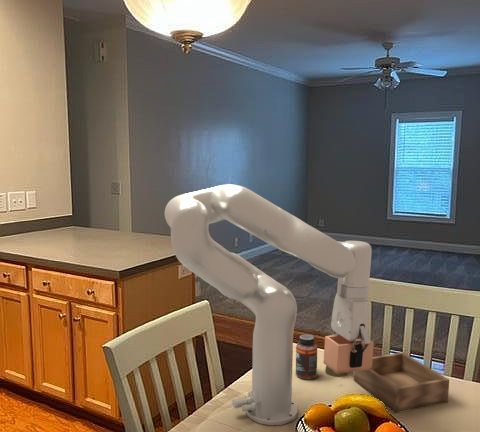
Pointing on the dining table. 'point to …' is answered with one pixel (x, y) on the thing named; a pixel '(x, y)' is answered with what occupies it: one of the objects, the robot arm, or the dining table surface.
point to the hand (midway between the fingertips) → (347, 360)
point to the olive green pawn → (331, 372)
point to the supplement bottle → (306, 357)
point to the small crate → (345, 355)
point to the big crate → (403, 383)
